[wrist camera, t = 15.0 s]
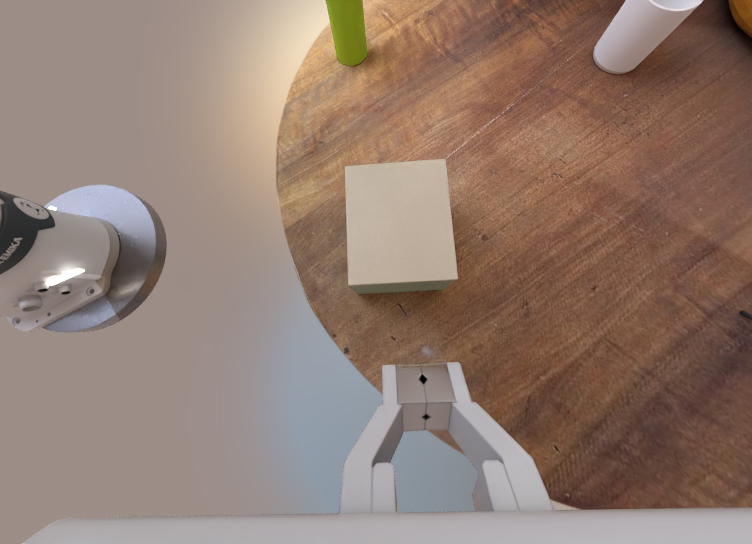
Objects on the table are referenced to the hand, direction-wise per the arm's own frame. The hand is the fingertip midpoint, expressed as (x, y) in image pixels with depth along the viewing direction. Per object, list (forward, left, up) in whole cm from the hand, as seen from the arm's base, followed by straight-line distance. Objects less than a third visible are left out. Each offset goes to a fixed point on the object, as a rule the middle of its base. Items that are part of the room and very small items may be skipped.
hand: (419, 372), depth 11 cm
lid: (+10, +12, -22) cm, 27 cm away
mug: (+64, +13, -32) cm, 72 cm away
